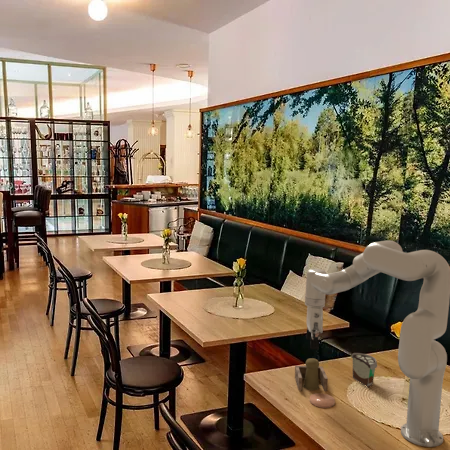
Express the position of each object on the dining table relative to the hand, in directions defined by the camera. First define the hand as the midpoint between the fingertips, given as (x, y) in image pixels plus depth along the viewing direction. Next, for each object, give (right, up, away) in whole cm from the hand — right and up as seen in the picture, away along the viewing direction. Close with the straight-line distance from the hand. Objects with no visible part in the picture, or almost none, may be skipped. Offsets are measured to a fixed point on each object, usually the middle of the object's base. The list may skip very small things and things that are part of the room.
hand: (312, 344), depth 185 cm
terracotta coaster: (+2, -19, -10) cm, 21 cm away
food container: (+23, -17, +7) cm, 30 cm away
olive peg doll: (0, -17, +2) cm, 17 cm away
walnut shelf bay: (0, -17, +4) cm, 17 cm away
